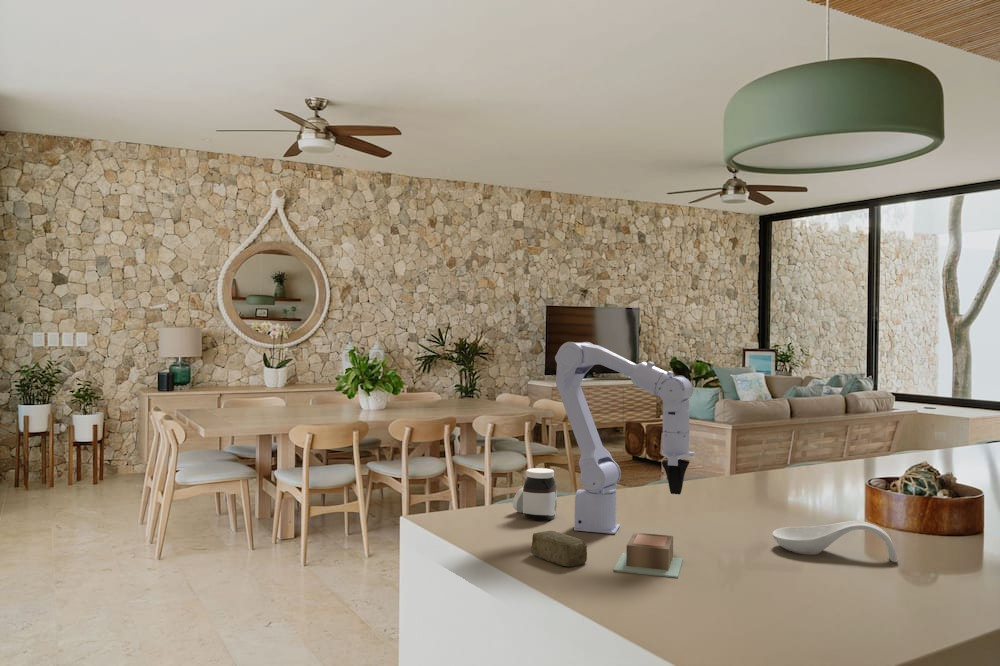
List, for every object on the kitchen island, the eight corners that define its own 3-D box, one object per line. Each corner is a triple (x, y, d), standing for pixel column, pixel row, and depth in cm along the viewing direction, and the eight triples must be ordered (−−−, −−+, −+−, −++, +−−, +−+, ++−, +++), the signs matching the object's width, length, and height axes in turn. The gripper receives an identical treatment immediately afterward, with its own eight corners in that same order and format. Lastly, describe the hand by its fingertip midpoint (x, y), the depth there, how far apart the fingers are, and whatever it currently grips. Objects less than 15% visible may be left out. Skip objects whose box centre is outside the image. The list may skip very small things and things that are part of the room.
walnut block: (633, 551, 153) (626, 565, 144) (633, 532, 153) (626, 545, 144) (673, 555, 151) (668, 570, 141) (673, 535, 151) (668, 548, 141)
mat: (613, 571, 141) (613, 569, 141) (623, 553, 153) (623, 552, 153) (677, 577, 138) (677, 576, 138) (682, 559, 149) (682, 558, 149)
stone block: (568, 570, 142) (568, 544, 142) (528, 556, 151) (528, 532, 151) (589, 564, 146) (589, 539, 146) (549, 551, 155) (549, 527, 155)
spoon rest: (771, 555, 154) (771, 520, 154) (772, 541, 164) (772, 508, 165) (900, 569, 145) (900, 532, 145) (892, 553, 156) (892, 519, 156)
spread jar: (549, 523, 177) (549, 475, 177) (504, 519, 181) (505, 471, 181) (561, 512, 189) (562, 466, 189) (519, 508, 192) (519, 464, 192)
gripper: (692, 436, 155) (692, 501, 154) (697, 428, 168) (696, 488, 168) (657, 434, 157) (657, 499, 157) (665, 427, 171) (665, 486, 170)
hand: (675, 493), depth 163 cm, fingers closed
